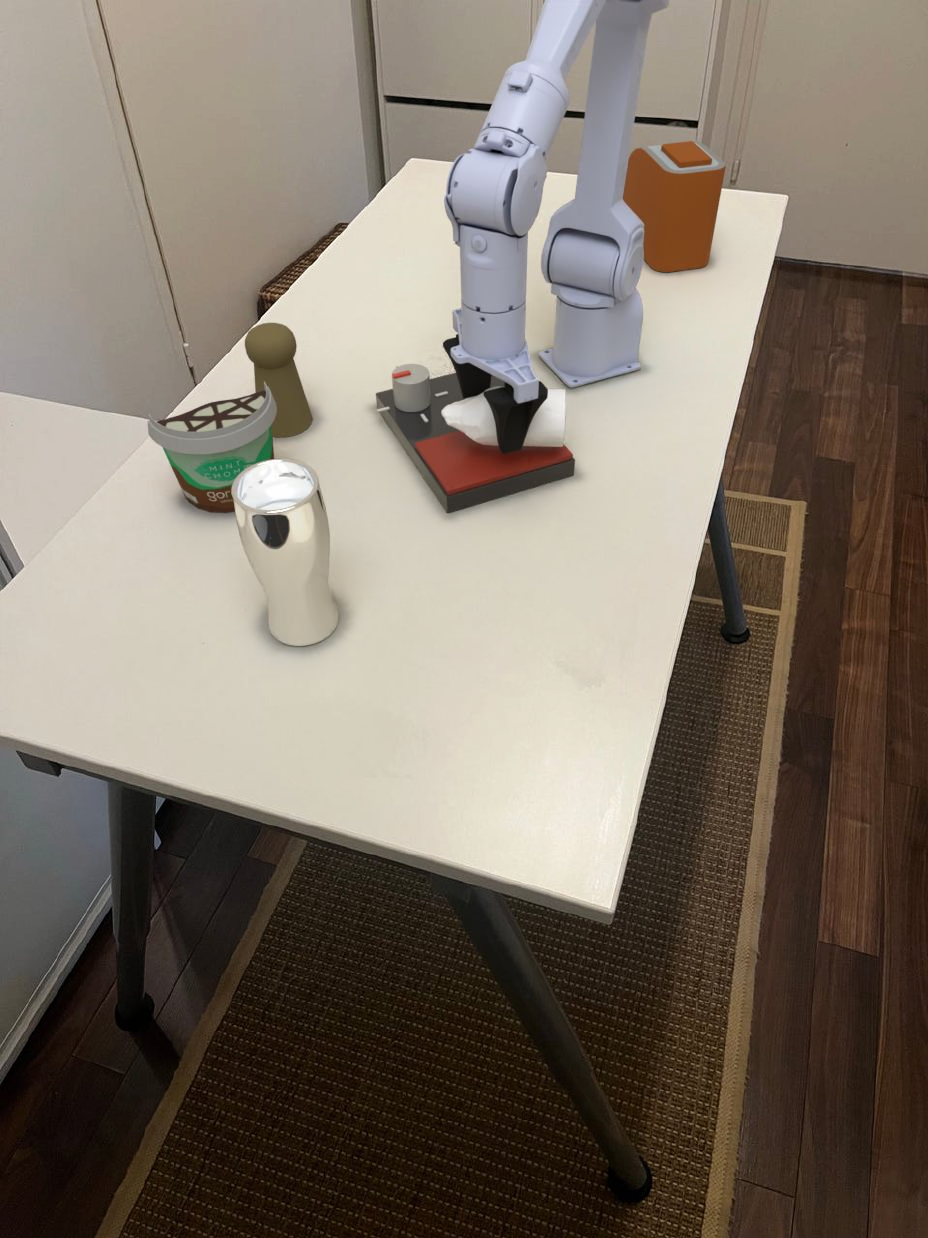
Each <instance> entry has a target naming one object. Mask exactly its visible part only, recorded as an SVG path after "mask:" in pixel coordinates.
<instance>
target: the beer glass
mask: <svg viewBox="0 0 928 1238" xmlns="http://www.w3.org/2000/svg"><path fill="white" fill-rule="evenodd" d="M319 481H320V480H319V475H318V474H317V472H316V470H315V469H314V468H313V467H312V466H310V465H309V464H307V463H305V462H303V461H300V460H298V459H291V458H274V459H271V460H266V461H262V462H259V463H256V464H254V465H252V466H250V467H248V468H246V469H245V470H244V471H242V472H241V473H240V474H239V475H238V476H237V477H236V479H235V480H234V482H233V485H232V489H231V492H232V497H233V501H234V508H235V512H234V514H235V520H236V526H237V531H238V535H239V538H240V541H241V544H242V548H243V551H244V554H245V556H246V558H247V560H248V563H249V565H250V566H251V569H252V571H253V573H254V575H255V576H256V579H257V581H258V582H259V584H260V586H261V588H262V591H263V592H264V594H265V597H266V601H267V609H268V610H267V623H268V629H269V631H270V633H271V635H272V636H273V637H274V638H275V639H276V640H277V641H278V642H281V643H282V644H285V645H288V646H291V647H292V646H293V647H305V646H311V645H314V644H317V643H320V642H321V641H323V640H325V639H327V638H328V637H329V636H330V635H331V634H333V632H334V631H335V630H336V628H337V627H338V623H339V620H340V619H339V618H340V614H339V609H338V607H337V605H336V603H335V600H334V598H333V595H332V593H331V589H330V583H329V582H330V581H329V573H330V558H331V557H330V556H331V532H330V531H331V530H330V524H329V517H328V513H327V508H326V503H325V500H324V496H323V493H322V489H321V486H320V482H319Z"/></svg>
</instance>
